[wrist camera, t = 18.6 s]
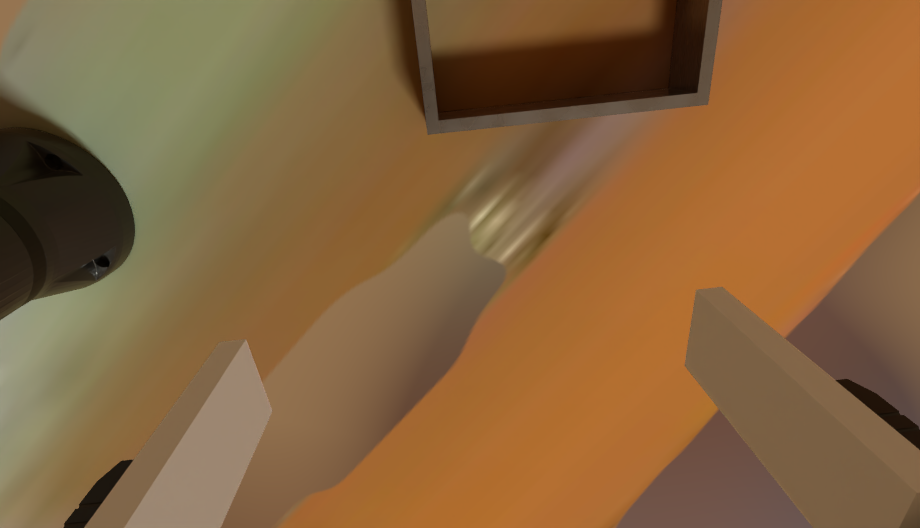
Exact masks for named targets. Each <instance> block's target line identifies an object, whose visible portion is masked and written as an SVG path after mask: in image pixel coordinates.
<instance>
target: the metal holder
mask: <svg viewBox="0 0 920 528" xmlns="http://www.w3.org/2000/svg"><path fill="white" fill-rule="evenodd" d="M411 3H412V12H413V20H414V28H415V36H416V44H417V52H418V60H419V68H420V76H421V84H422V93H423V101H424V109H425V117H426V125H427V133H428V135H429V134H438V133H447V132H457V131H466V130H476V129H485V128H494V127H504V126H513V125H522V124H532V123H541V122H550V121H560V120H569V119H578V118H588V117H597V116H606V115H616V114H625V113H634V112H644V111H653V110H662V109H672V108H681V107H690V106H700V105H708V101H709V94H710V86H711V79H712V72H713V65H714V57H715V50H716V43H717V36H718V28H719V21H720V14H721V7H722V0H677V7H676V17H675V27H674V37H673V47H672V57H671V67H670V77H669V87H668V88H664V89H655V90H645V91H636V92H627V93H617V94H608V95H598V96H589V97H580V98H570V99H561V100H552V101H542V102H533V103H523V104H514V105H505V106H495V107H486V108H477V109H467V110H458V111H449V112H439V113H438V108H437V99H436V90H435V82H434V73H433V64H432V55H431V46H430V37H429V28H428V19H427V10H426V1H425V0H411Z"/></svg>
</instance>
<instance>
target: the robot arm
mask: <svg viewBox="0 0 920 528" xmlns="http://www.w3.org/2000/svg"><path fill="white" fill-rule="evenodd" d="M134 236H135V224H134V218H133V214H132V210H131V207H130V205H129V202H128V200H127V198H126V196H125V194H124V192H123V190H122V189H121V187H120V186H119V184H118V183H117V181H116V180H115V179H114V178H113V176H112V175H111V174H110V173H109V172H108V171H107V170H106V169H105V168H104V167H103V166H102V165H101V164H100V163H99V162H98V161H97V160H96V159H95V158H93V157H92V156H91V155H89V154H88V153H87V152H85V151H84V150H82V149H81V148H79V147H78V146H76V145H74V144H72V143H70V142H69V141H66V140H64V139H62V138H60V137H57V136H55V135H52V134H49V133H46V132H43V131H39V130H34V129H27V128H3V129H0V320H1V319H3V318H4V317H6V316H7V315H9V314H10V313H12V312H13V311H15V310H16V309H18V308H19V307H21V306H23V305H24V304H26V303H27V302H29V301H31V300H35V299H39V298H43V297H47V296H52V295H56V294H60V293H64V292H69V291H73V290H77V289H81V288H84V287H87V286H90V285H92V284H94V283H96V282H98V281H100V280H101V279H103V278H104V277H106V276H107V275H109V274H110V273H112V272H113V271H115V270H116V269H117V268H118V267H119V266H121V265H122V264H123V262H124V261H125V260H126V259H127V257H128V255H129V254H130V251H131V249H132V246H133V242H134ZM685 367H686V368H687V369H688V370H689V372H690V373H691V374H692V375H693V377H694V378H695V379H696V381H697V382H698V383H699V384H700V386H701V387H702V388H703V389H704V391H705V392H706V393H707V394H708V396H709V397H710V398H711V399H712V401H713V402H714V403H715V404H716V406H717V407H718V408H719V410H720V411H721V412H722V413H723V415H724V416H725V417H726V418H727V420H728V421H729V422H730V423H731V425H732V426H733V427H734V428H735V430H736V431H737V432H738V433H739V435H740V436H741V437H742V439H743V440H744V441H745V442H746V444H747V445H748V446H749V447H750V449H751V450H752V451H753V452H754V454H755V455H756V456H757V458H758V459H759V460H760V461H761V462H762V464H763V465H764V466H765V468H766V469H767V470H768V471H769V473H770V474H771V475H772V476H773V478H774V479H775V480H776V481H777V483H778V484H779V485H780V487H781V488H782V489H783V490H784V492H785V493H786V494H787V495H788V497H789V498H790V499H791V500H792V502H793V503H794V504H795V505H796V507H797V508H798V509H799V510H800V512H801V513H802V514H803V516H804V517H805V518H806V519H807V521H808V522H809V523H810V524H811V526H812V527H813V528H920V430H919V427H918V426H917V425H916V424H915V423H913V422H912V421H911V420H910V419H908V418H907V417H906V416H904V415H900V414H899V411H898V410H897V409H895V408H894V407H893V406H892V405H890V404H889V403H888V402H886V401H885V400H884V399H882V398H881V397H880V396H879V395H877V394H876V393H874V392H872V391H870V390H868V389H866V388H864V387H862V386H860V385H858V384H856V383H854V382H852V381H850V380H848V379H842V380H834V379H833V378H832V377H831V376H829V375H828V374H827V373H826V372H825V371H823V370H822V369H821V368H820V367H819V366H817V365H816V364H815V363H814V362H813V361H811V360H810V359H809V358H808V357H806V356H805V355H804V354H803V353H802V352H800V351H799V350H798V349H797V348H795V347H794V346H793V345H792V344H791V343H789V342H788V341H787V340H786V339H785V338H783V337H782V336H781V335H780V334H779V333H777V332H776V331H775V330H774V329H773V328H771V327H770V326H769V325H768V324H766V323H765V322H764V321H763V320H762V319H760V318H759V317H758V316H757V315H756V314H754V313H753V312H752V311H751V310H750V309H748V308H747V307H746V306H745V305H743V304H742V303H741V302H740V301H739V300H737V299H736V298H735V297H734V296H733V295H731V294H730V293H729V292H728V291H727V290H725V289H724V288H723V287H717V288H708V289H699V290H696V294H695V301H694V307H693V314H692V320H691V327H690V333H689V340H688V347H687V353H686V360H685ZM271 413H272V409H271V406H270V403H269V401H268V398H267V395H266V392H265V390H264V387H263V384H262V381H261V379H260V376H259V373H258V370H257V368H256V365H255V362H254V360H253V357H252V354H251V351H250V349H249V346H248V343H247V340H246V339H243V340H234V341H225V342H219V344H218V345H217V346H216V348H215V349H214V350H213V352H212V353H211V355H210V356H209V357H208V359H207V360H206V361H205V363H204V364H203V366H202V367H201V368H200V370H199V371H198V372H197V374H196V375H195V377H194V378H193V379H192V381H191V382H190V383H189V385H188V386H187V387H186V389H185V390H184V392H183V393H182V394H181V396H180V397H179V398H178V400H177V401H176V403H175V404H174V405H173V407H172V408H171V409H170V411H169V412H168V414H167V415H166V416H165V418H164V419H163V420H162V422H161V423H160V424H159V426H158V427H157V429H156V430H155V431H154V433H153V434H152V435H151V437H150V438H149V440H148V441H147V442H146V444H145V445H144V446H143V448H142V449H141V451H140V452H139V453H138V455H137V456H136V457H135V459H134V460H126V461H121V462H119V463H118V464H117V465H116V466H115V467H114V468H112V469H111V470H110V471H109V472H108V473H106V474H105V475H104V476H103V477H102V478H101V479H99V480H98V481H97V482H96V483H95V485H94V486H93V487H92V489H91V490H90V491H89V492H88V494H87V495H86V496H85V498H84V499H83V500H82V501H81V503H80V504H79V508H78V509H75V510H74V512H73V513H72V514H71V516H70V517H69V518H68V519H67V521H66V522H65V523H64V528H221V525H222V523H223V521H224V519H225V516H226V514H227V512H228V510H229V507H230V505H231V503H232V501H233V498H234V496H235V494H236V492H237V489H238V487H239V485H240V483H241V481H242V478H243V476H244V474H245V471H246V469H247V467H248V465H249V463H250V460H251V458H252V456H253V454H254V451H255V449H256V447H257V445H258V442H259V440H260V438H261V435H262V433H263V431H264V429H265V427H266V424H267V422H268V420H269V418H270V415H271Z"/></svg>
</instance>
